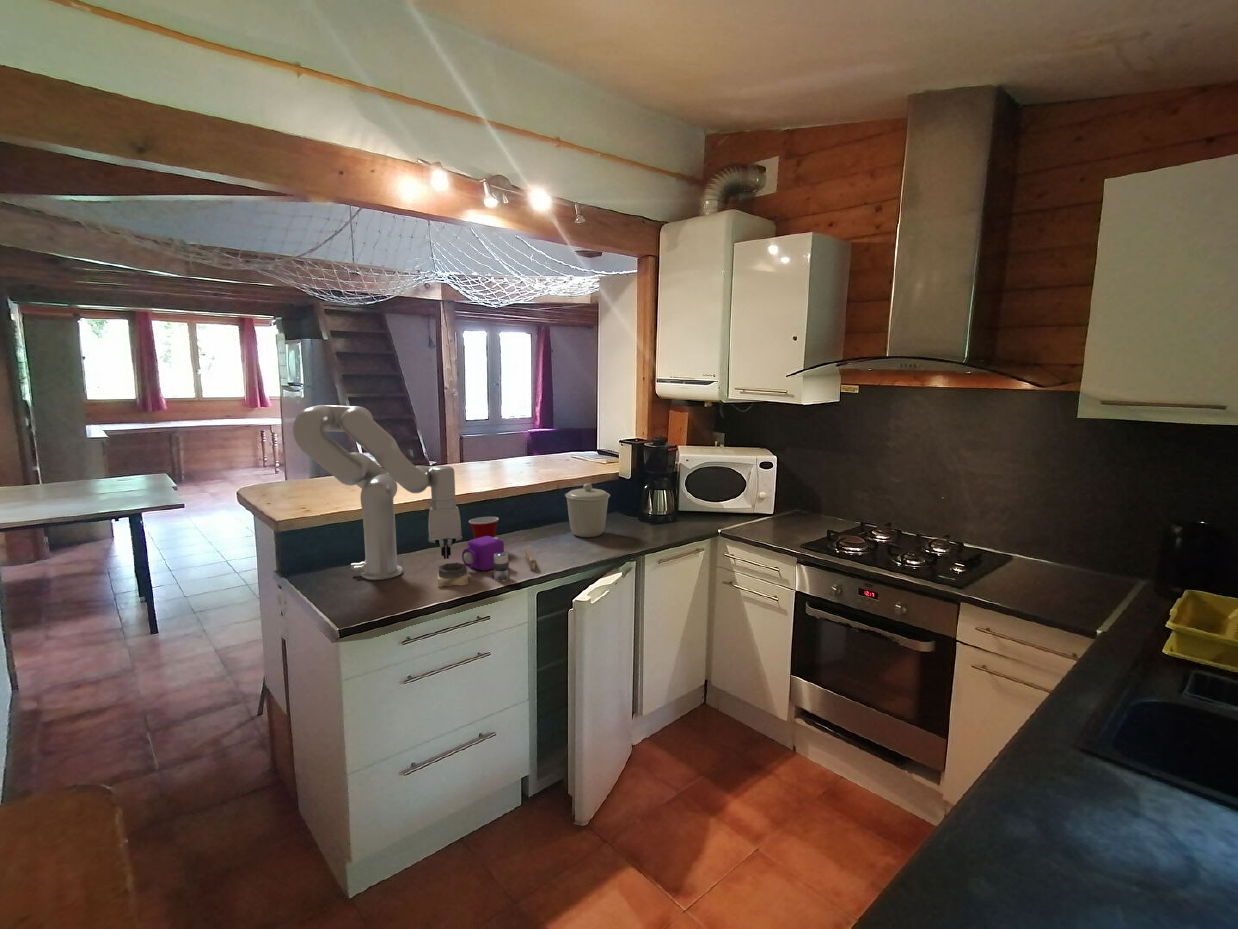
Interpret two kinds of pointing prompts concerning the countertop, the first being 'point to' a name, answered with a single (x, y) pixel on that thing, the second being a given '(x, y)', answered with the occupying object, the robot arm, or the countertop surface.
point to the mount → (452, 574)
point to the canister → (587, 511)
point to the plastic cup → (484, 526)
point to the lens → (501, 566)
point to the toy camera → (482, 552)
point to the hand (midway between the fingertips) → (446, 557)
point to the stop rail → (530, 559)
